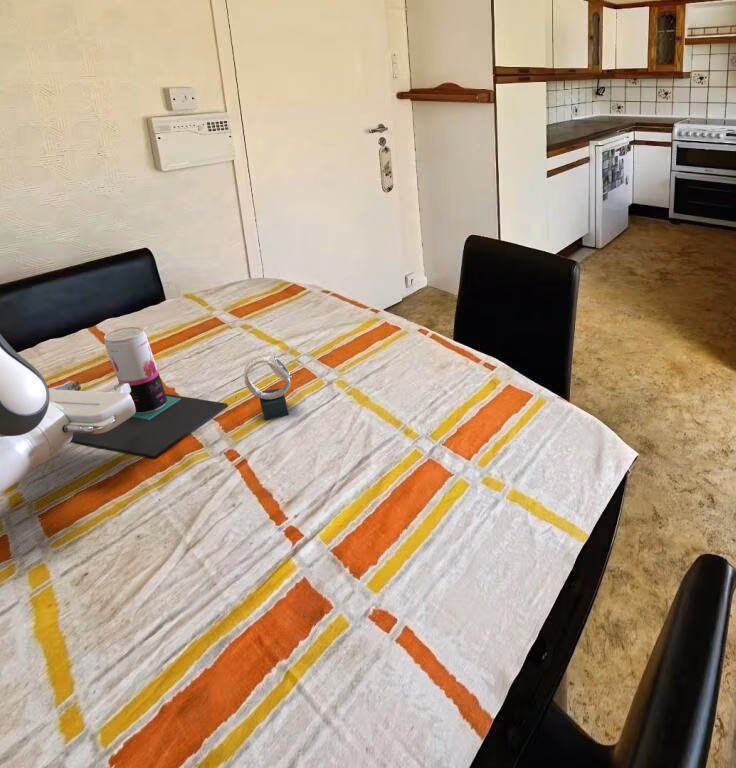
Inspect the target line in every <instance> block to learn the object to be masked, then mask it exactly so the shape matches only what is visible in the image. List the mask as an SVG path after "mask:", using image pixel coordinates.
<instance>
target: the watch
mask: <svg viewBox="0 0 736 768" xmlns="http://www.w3.org/2000/svg"><path fill="white" fill-rule="evenodd" d="M262 363H263V364H264V363H266V365H268V366H269V367H270V369H271V371H273V373H274V374H275V375H276V376H277V377H278V378H280V379H281V380H283V381H285V383H284V384H283V386H282V387H279V388H274V389H268V390H264V391H261V389H260V388H258V387H257V386H256V385H255V384H253V382H252V381H251V379H250V378H249V376H248V375H249V373H250V371H251V369H253V368H254V367H255V366H256V365H260V364H262ZM243 377H244V385H245V386H246V388H247V389H248V390H249V392H251V394H253V395H254V397H256V398H258V399H259V402H260V407H261V412H262V416H263V420H264V421H269V420H273V419H277V418H283V417H287V416H290V413H289V410H288V403H287V400H286V399H287V398H286V395H285V394H286V393H287V392H288V390H289V388H290V386H291V378H292V373H291V371H290V370H289V369H288V367H287V365H285V364H284V362H282V361H281V360H280V359H279V358H278V357H277V356H276V355H273V356H270V355H260V356H257V357H255V358H253V359H252V360H251V359H250V361H249V362H248V363H247V364H246V366H245V368H244V372H243Z"/></svg>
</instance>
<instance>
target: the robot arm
mask: <svg viewBox="0 0 736 768" xmlns="http://www.w3.org/2000/svg"><path fill="white" fill-rule="evenodd" d="M48 386H49V385H48V383H47V381H46V379H45V378H44V377H43V375H42V374H41V373H40V372H39V370H38V369H37V368H35V366H33V365H32V364H31V363H30V362H29V361H28V360H27V359H25V358H24V357H23V356H21V355H20V354H19V353H18V352H17V351H16V350H15V349H14V348H13V347H12V346H11V345H10V344H9V343H8V342H7V340H6V339H5V338H4V337H3V336H2V334H1V333H0V495H1V494H2V493H4V492H5V491H7V490H8V489H10V488H12V486H14V485H16V484H18V482H19V481H21V480H22V479H24V477H25V476H26V475H27V474H28V472H29V471H31V469H32V468H34V467H37V466H40V465H42V464H43V463H45V462H46V461H48V460H49V459H50V458H52V457H53V456H54V455H55V454H57V453H58V452H60V451H62V449H64V448H65V447H67V446H68V445H69V444H70V443H71V442H70V441H71V440H72V437H73V433H91V434H98V433H104V432H107V431H109V430H111V429H113V428H115V427H116V426H118V425H120V424H121V423H123V422H124V421H126V420H127V419H129V418H130V417H132V416H133V415H134V414H135V412H136V409H135V405H134V402H133V399H132V397H131V395H130V394H129V393H130V392H131V389H130V386H129V384H128V383H119V382H118V384H116V385H114V386H113V390H114V391H90V390H81V389H82V387H81V385H80V382H79V381H77V380H68V381H66V382H64V383H63V384H60V385H59V384H58V385H56V386H52V387H48Z"/></svg>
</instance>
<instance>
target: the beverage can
mask: <svg viewBox="0 0 736 768" xmlns="http://www.w3.org/2000/svg"><path fill="white" fill-rule="evenodd" d="M103 339H104V340H103V343H104V345H105V348H106V351H107V353H108V357H109V359H110V361H111V364H112V368H113V370H114V373H115V375H116V379H117V381H118V384H119V383H128V384H129V386H130V389H131V392H130V393H129V394H130V395H131V397H132V399H133V402H134V405H135V409H136V412H135V413H138V414H143V413H149V412H153V411H156V410H158V409H160V408H161V407H163V406H164V405H165V403H166V402H167V397H166V394H167V393H166V391H165V388H164V385H163V382H162V379H161V376H160V373H159V369H158V367H157V364H156V361H155V358H154V354H153V352H152V348H151V346H150V342H149V340H148V337H147V334H146V332H145V331H144V329H143V328H142V327H140V326H126V327H121V328H116V329H114V330H111V331H109V332H107V333H106V334H104V336H103Z"/></svg>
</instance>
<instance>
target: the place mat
mask: <svg viewBox="0 0 736 768" xmlns="http://www.w3.org/2000/svg"><path fill="white" fill-rule="evenodd" d="M165 394H166V396H169V397H175V398H181V400H179V401H178V402H176V403H175V404H173V405H171V406H170V407H168V408H167V409H165V410H164V411H162V412H161V413H159V414H158V415H156V416H154V417H153V418H151V419H150V420H145V419H140V418H134V417H130V418H129V419H127V420H126V421H124V422H123V423H121V424H120V425H118V426H116V427H115V428H113V429H111V430H109V431H107V432H104V433H98V434H91V433H73V437H72V440H71V441H70V443H72V444H78V445H82V446H87V447H88V446H89V447H92V448H98V449H103V450H109V451H113V452H119V453H124V454H129V455H133V456H139V457H145V458H150V459H154V460H155V459H157V458H158V457H160V456H162V454H164V453H165V452H167V451H168V450H169V449H171V448H173V446H175V445H176V444H178V443H179V442H181V441H182V440H184V439H185V438H186V437H188V436H189V435H191V433H193V432H194V431H196V430H197V429H198V428H200V427H201V426H202V425H204V424H205V423H207V422H208V421H210V420H211V419H212V418H214V417H215V416H217V415H218V414H219V413H221V412H222V411H223V410H225V409H226V408H227V407H229V404H228V403H227V402H226V403H225V402H219V401H212V400H207V399H201V398H195V397H188V396H182V395H176V394H170V393H165Z"/></svg>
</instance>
